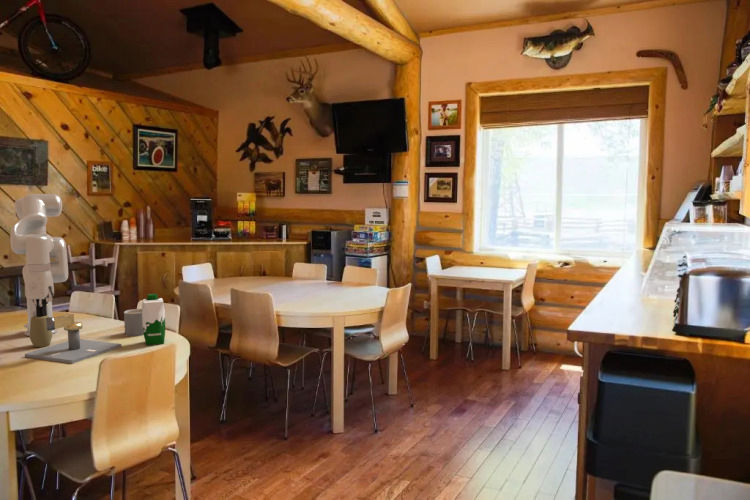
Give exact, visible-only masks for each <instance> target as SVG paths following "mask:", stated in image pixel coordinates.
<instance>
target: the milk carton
mask: <svg viewBox="0 0 750 500" xmlns="http://www.w3.org/2000/svg"><path fill="white" fill-rule="evenodd" d="M146 296H147V297H146V298H144V299H142V302H141V309H142V321H143V334H144V335H143V338H144V343H145V345H146V346H153V345H162V344H163V345H164V344H165V338H166V313H165V312H166V311H165V303H164V300H163V298H162V297H160V298H159V297H158V293H148V294H147V295H146Z"/></svg>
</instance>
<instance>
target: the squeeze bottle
mask: <svg viewBox="0 0 750 500" xmlns="http://www.w3.org/2000/svg"><path fill="white" fill-rule="evenodd" d="M46 318H49V316H43V317H37V316H36V311H34V312H33V317H32V318H31V322H30V336H29V340H30V342H31V345H32V346H33V348H42V347H43V348H45V347H49V346H51V345H50V344H51V342H52V338H53V334H52V331H51V330H47V326H46Z"/></svg>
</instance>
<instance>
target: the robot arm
mask: <svg viewBox="0 0 750 500" xmlns="http://www.w3.org/2000/svg"><path fill="white" fill-rule="evenodd" d="M14 210H15V213H16V215H17V218H18V219H19V220H18V221H16V223H15V224H14V225H12V227H11V230H10V247H11V251H12V252H13V253H15V254H16V255H26V256H25V257H26V264H25V265H24V266H23V268H22V277H23V282H24V295H25V296H24V297H26V307H27V322H26V324H24V325H23V328H26V329H27V330H26V331H24V336H27V337H30V322H31V318H32V317H33V312H34V311H36V316H37V317H43V316H49V317H54V314H53V297H54V295H55V287H54V286H55V285H54V283H55V284H58V283H65V282H67V280H68V278H69V265H68V251H67V243H66V241H65V239H64V238H62V237H60V236H51V235H50V234H49V233H47V227H46V225H47V223H48V218H50V217H51V218H52V217H53V218H54V217H60V215H61V214H62V211H63V201H62V198H61V197H60V196H59V195H58V194H56V193H30V194H27V195H25V196H23V197H21V198H17V199H16V200H15V201H14ZM50 259H54V260H55V261H51V260H50ZM51 331H52V335H53V334H56V333H57V332H58V329H55V330H51Z"/></svg>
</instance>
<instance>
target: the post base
mask: <svg viewBox="0 0 750 500" xmlns="http://www.w3.org/2000/svg"><path fill="white" fill-rule="evenodd" d="M67 339H68V340H67V341H64V342H61V343H57V344H53V345H49V346H45V347H43V348H40V349H36V350H33V351H30V352H27V353H24V358H31V359H37V360H43V361H44V360H45V361H51V362H59V363H64V364H65V363H66V364H75V363H79V362H81V361H84V360H88V359H90V358H93V357H95V356H96V357H97V356H98V355H99V356H100V355H102V354H105V353H108V352H111V351H113V349H114V350H117V349H119V347H120V348H122V345H123V344H122V343H118V342H117V343H116V342H109V341H100V340H92V339H82V338H80V329H79V330H73V331H67ZM116 348H117V349H116ZM110 350H111V351H110ZM107 351H108V352H107Z"/></svg>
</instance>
